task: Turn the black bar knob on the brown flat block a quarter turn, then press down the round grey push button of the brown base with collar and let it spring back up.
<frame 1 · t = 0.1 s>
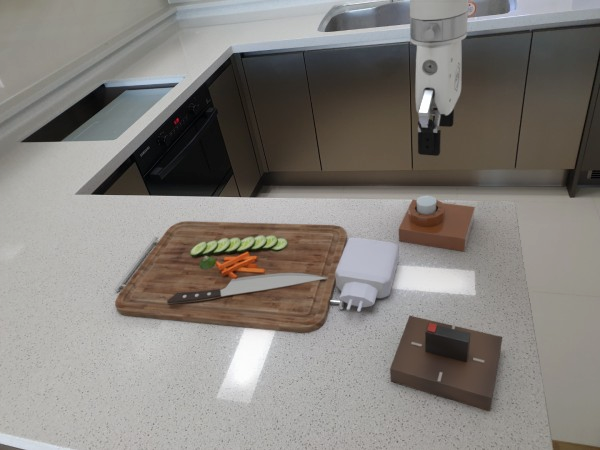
hand: (436, 139, 73), 22 cm above the table, tool pointing down, fingers open, 9 cm apart
brown base with collar: (436, 230, 89), on the table
chopping board: (236, 271, 89), on the table, touching charger
round grey push button: (426, 205, 86), point 6 cm above the table, slide at 0.1 cm
brown flat block: (446, 365, 65), on the table
charger: (364, 288, 79), on the table, touching chopping board
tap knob: (447, 341, 62), point 5 cm above the table, hinge at 0.0°
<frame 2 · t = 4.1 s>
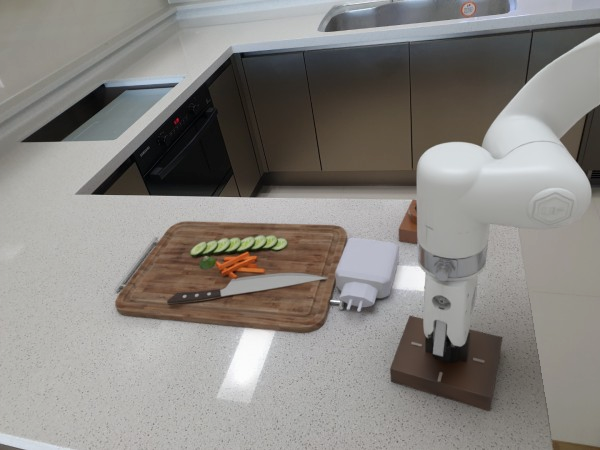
hand: (446, 351, 63), 3 cm above the table, tool pointing down, fingers closed on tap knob
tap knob: (447, 341, 62), point 5 cm above the table, hinge at 0.0°, touching gripper
everything else where it was.
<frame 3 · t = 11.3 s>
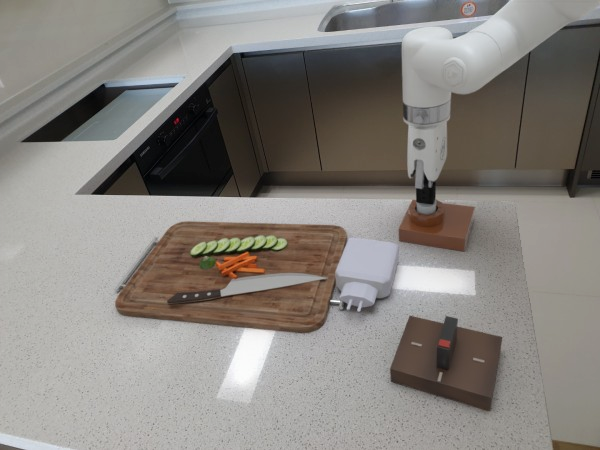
hand: (425, 201, 86), 6 cm above the table, tool pointing down, fingers closed
round grey push button: (426, 206, 87), point 5 cm above the table, slide at -0.1 cm, touching gripper
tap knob: (447, 341, 62), point 5 cm above the table, hinge at 90.1°
everything else where it was.
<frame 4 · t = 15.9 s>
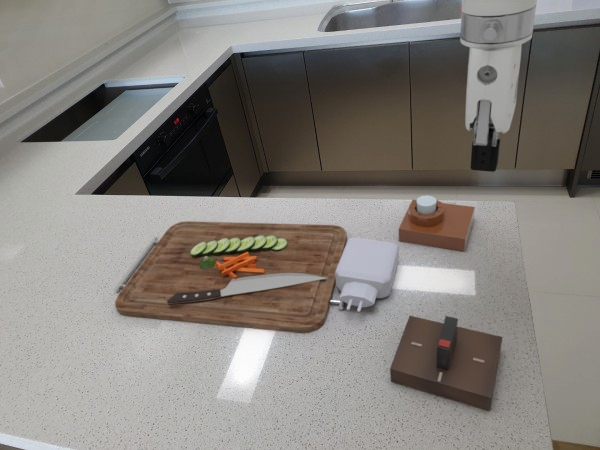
hand: (483, 167, 62), 23 cm above the table, tool pointing down, fingers closed
round grey push button: (426, 205, 86), point 6 cm above the table, slide at 0.1 cm
everything else where it was.
at the end: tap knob at +90° (first picture: +0°); round grey push button pushed in 1.3 cm at the most during the clip, back to where it started at the end; round grey push button slide at 0.1 cm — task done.
